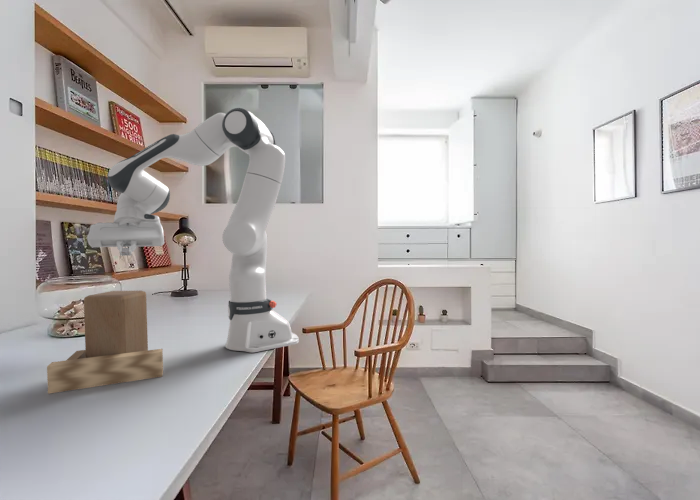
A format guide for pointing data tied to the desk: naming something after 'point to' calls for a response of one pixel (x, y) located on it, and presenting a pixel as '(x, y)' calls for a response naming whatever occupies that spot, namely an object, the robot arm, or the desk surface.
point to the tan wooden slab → (103, 370)
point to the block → (115, 323)
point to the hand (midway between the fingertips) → (125, 254)
